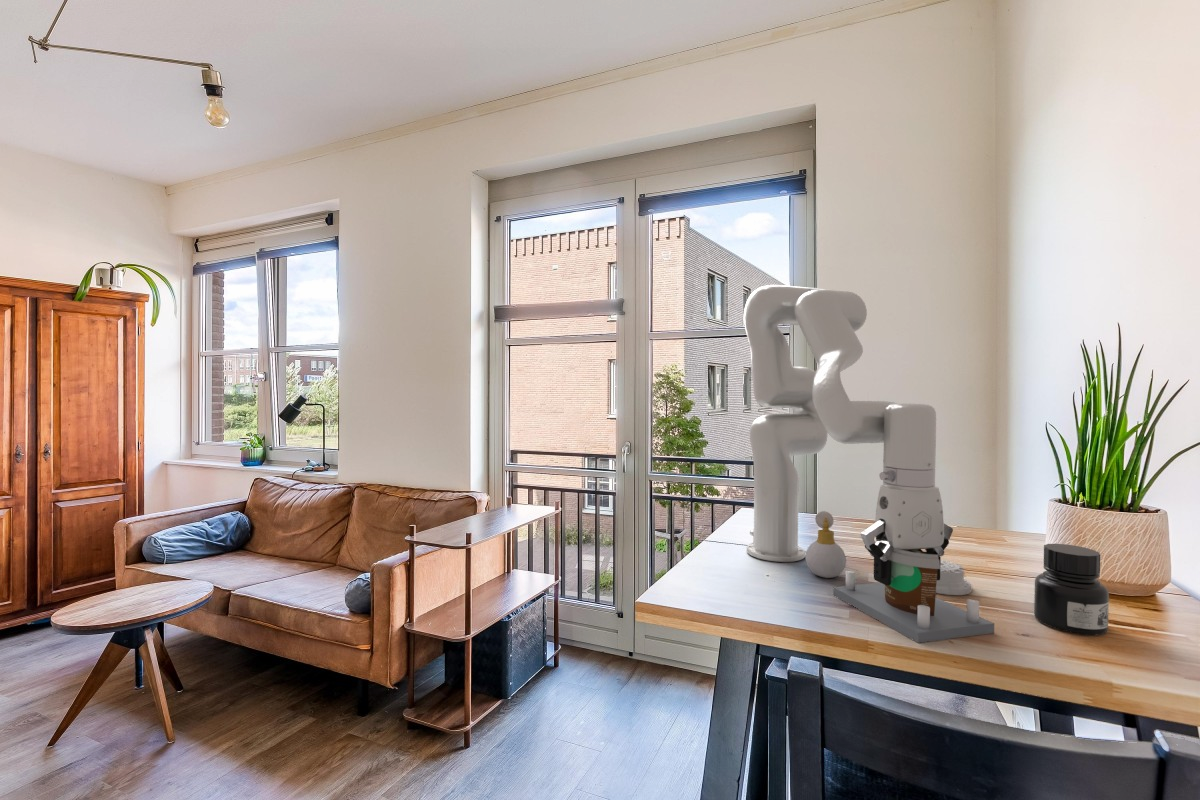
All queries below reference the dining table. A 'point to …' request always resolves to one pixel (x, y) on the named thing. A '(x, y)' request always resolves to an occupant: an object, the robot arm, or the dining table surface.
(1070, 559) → the ink bottle
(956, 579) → the white cake
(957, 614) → the seating plate
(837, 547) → the perfume bottle
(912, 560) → the food container
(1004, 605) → the dining table surface
